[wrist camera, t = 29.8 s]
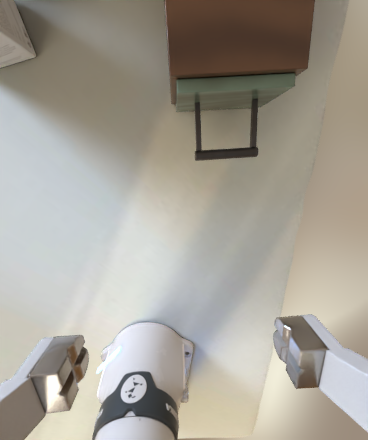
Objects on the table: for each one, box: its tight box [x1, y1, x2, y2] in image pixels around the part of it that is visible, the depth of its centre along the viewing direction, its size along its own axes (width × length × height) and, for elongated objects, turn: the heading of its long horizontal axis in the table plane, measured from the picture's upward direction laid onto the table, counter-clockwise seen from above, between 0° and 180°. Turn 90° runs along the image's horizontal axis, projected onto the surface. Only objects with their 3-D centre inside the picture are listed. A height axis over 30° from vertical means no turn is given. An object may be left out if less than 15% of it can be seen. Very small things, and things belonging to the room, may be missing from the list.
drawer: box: [176, 73, 296, 161], centre depth 23 cm, size 20×12×8 cm, turn 4°
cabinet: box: [164, 0, 315, 104], centre depth 21 cm, size 15×13×10 cm
